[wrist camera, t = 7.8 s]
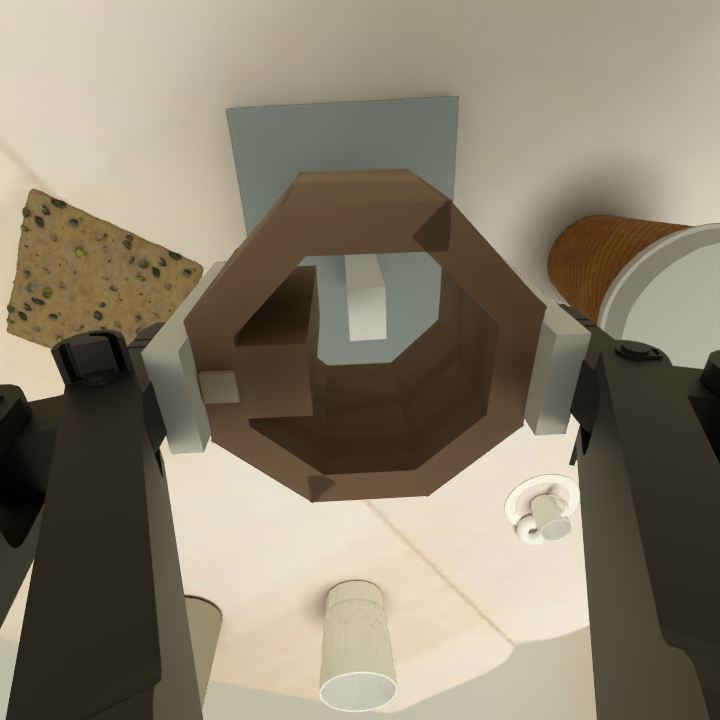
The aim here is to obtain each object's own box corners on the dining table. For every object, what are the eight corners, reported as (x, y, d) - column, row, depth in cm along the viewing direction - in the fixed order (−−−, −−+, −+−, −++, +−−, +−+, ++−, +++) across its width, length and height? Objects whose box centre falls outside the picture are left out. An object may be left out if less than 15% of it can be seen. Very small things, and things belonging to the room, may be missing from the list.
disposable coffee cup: (573, 169, 30) (700, 197, 20) (680, 220, 32) (845, 270, 22) (502, 292, 34) (576, 369, 24) (601, 330, 36) (708, 417, 26)
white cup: (308, 593, 52) (302, 690, 43) (364, 567, 50) (370, 663, 41) (346, 624, 55) (348, 719, 46) (399, 600, 53) (412, 695, 44)
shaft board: (452, 97, 28) (510, 87, 19) (440, 369, 37) (473, 451, 28) (230, 109, 27) (178, 105, 18) (276, 380, 37) (256, 466, 28)
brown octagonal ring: (480, 165, 14) (573, 195, 8) (458, 381, 18) (512, 496, 12) (224, 173, 14) (152, 210, 8) (259, 390, 18) (226, 511, 12)
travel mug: (139, 609, 52) (53, 826, 36) (192, 586, 50) (127, 802, 34) (184, 641, 55) (124, 850, 39) (236, 620, 53) (194, 829, 38)
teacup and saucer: (531, 538, 49) (547, 571, 46) (482, 510, 47) (494, 543, 43) (593, 492, 46) (615, 523, 43) (544, 459, 44) (562, 489, 40)
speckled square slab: (7, 331, 34) (-2, 337, 33) (31, 183, 29) (22, 185, 28) (161, 388, 38) (157, 394, 37) (208, 263, 33) (204, 267, 32)
